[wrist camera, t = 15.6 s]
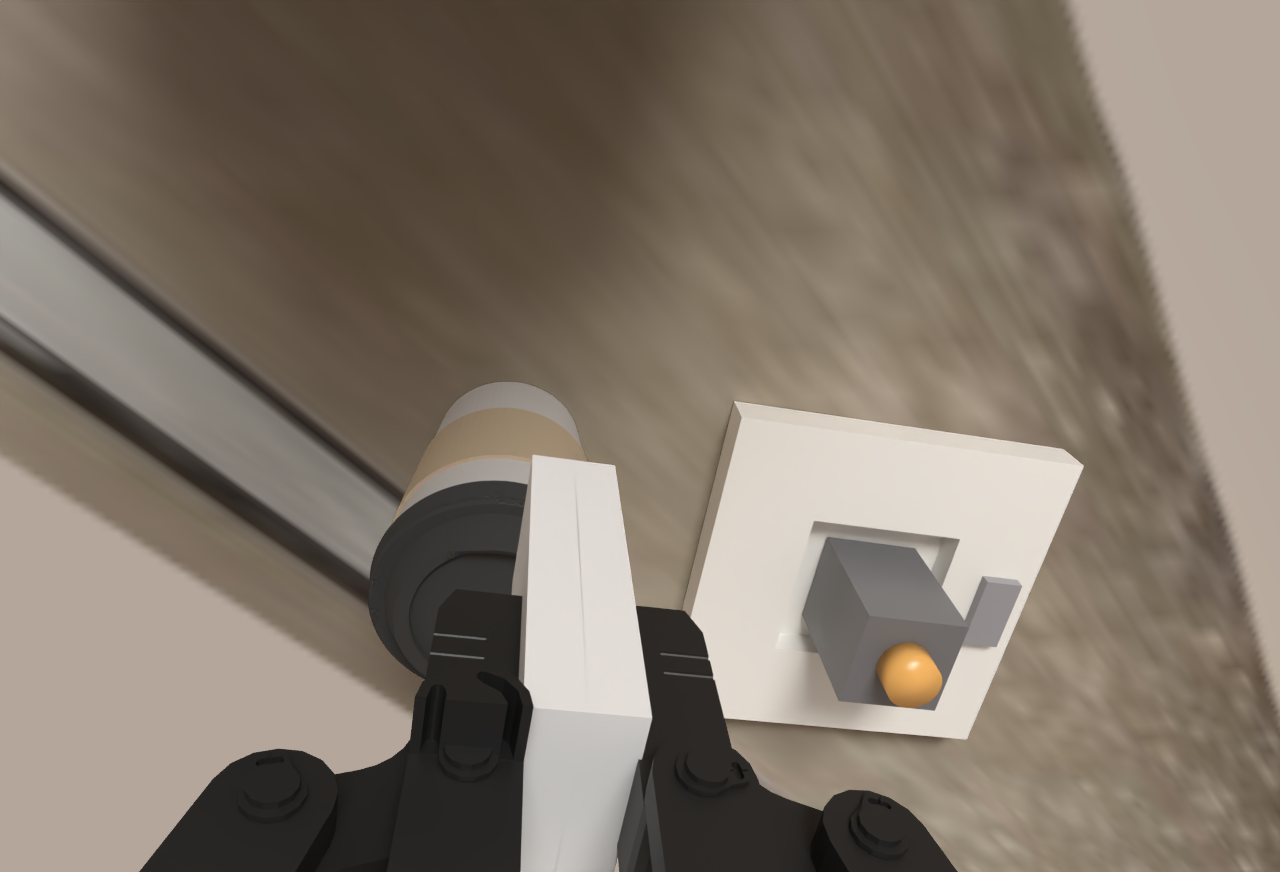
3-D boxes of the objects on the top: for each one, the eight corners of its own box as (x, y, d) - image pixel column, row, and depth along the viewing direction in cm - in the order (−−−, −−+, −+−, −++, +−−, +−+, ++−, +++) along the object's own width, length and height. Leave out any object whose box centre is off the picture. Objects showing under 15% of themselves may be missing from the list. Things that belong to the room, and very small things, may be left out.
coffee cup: (587, 532, 47) (602, 740, 34) (409, 515, 46) (351, 724, 32) (613, 371, 44) (642, 530, 30) (421, 347, 42) (361, 502, 29)
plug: (827, 536, 48) (880, 635, 40) (914, 548, 49) (983, 647, 41) (801, 614, 50) (847, 723, 42) (886, 624, 51) (946, 732, 43)
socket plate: (733, 401, 45) (744, 422, 43) (1063, 449, 48) (1090, 471, 46) (662, 688, 52) (667, 720, 50) (952, 715, 55) (970, 746, 53)
